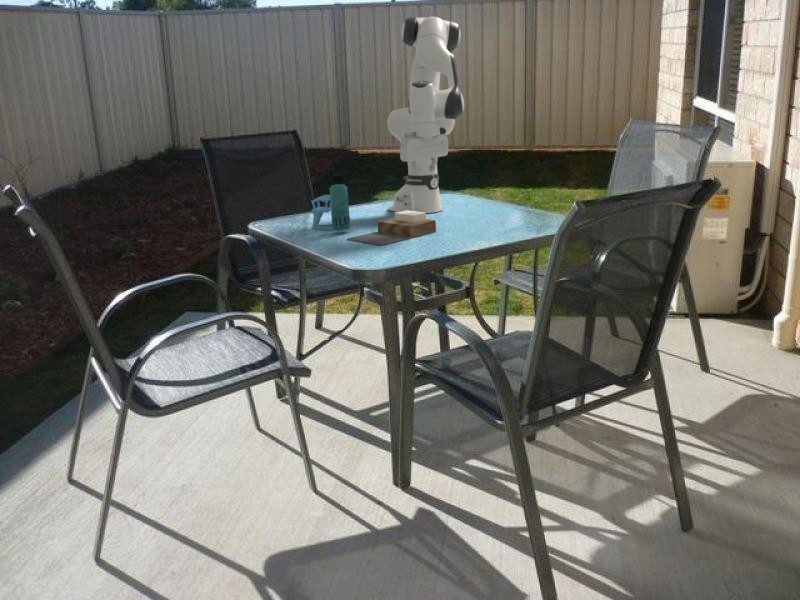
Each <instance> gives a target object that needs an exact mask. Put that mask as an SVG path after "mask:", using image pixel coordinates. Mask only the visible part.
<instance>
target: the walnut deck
mask: <svg viewBox="0 0 800 600" xmlns="http://www.w3.org/2000/svg"><path fill="white" fill-rule="evenodd" d="M376 221H377V220H376ZM436 221H437V220H435V219H429V218H426V220H423V221H418V222H414V223H413V222H406V221H399V220H395V216H394V217H391V218H386V219H381V220H378V221H377V232H380V233H386V234H393V235H399V236H405V237H411V239H413V238H417V237H422V236H425V235H429V234H433V233H436V232H437V226H436V225H437V222H436Z"/></svg>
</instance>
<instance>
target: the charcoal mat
mask: <svg viewBox="0 0 800 600" xmlns="http://www.w3.org/2000/svg"><path fill="white" fill-rule="evenodd" d="M410 239H412V238H411V237H405V236H399V235H393V234H386V233H380V232H378V231H373V232H369V233H366V234H362V235H356V236H353V237H347V238H346V240H347V241H352V242H358V243H363V244H369V245H373V246H374V245H375V246H379V247H383V246H388V245H391V244H395V243H399V242H403V241H406V240H410Z"/></svg>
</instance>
